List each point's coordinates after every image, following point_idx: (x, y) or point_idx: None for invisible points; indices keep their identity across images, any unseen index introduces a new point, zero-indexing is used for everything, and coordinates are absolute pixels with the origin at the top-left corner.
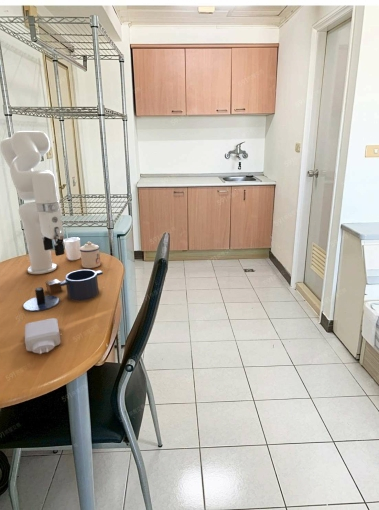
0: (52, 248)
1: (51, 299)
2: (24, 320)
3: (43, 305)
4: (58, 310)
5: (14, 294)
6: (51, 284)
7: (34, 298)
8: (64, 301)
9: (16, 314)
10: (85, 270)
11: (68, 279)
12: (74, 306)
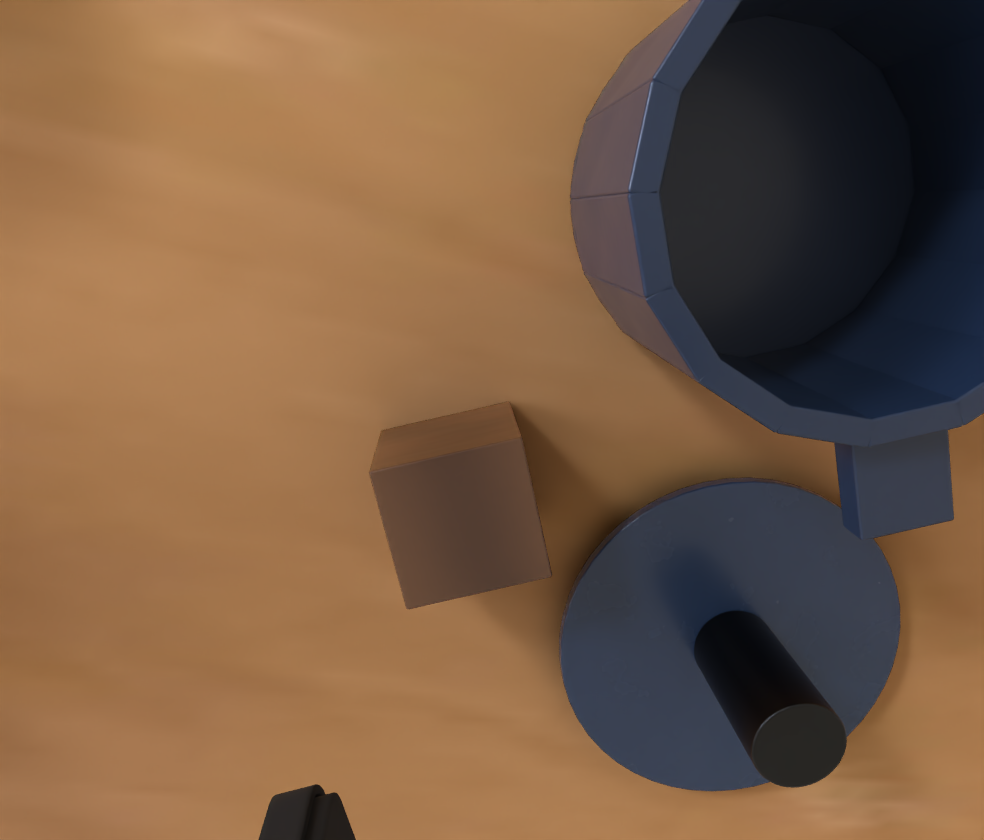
0: (335, 801)
1: (722, 551)
2: (930, 776)
3: (817, 636)
4: None
5: None
6: (541, 554)
7: (589, 693)
8: None
9: (774, 824)
10: (710, 47)
11: (952, 417)
12: None
